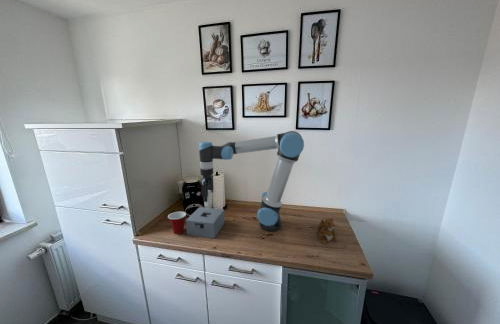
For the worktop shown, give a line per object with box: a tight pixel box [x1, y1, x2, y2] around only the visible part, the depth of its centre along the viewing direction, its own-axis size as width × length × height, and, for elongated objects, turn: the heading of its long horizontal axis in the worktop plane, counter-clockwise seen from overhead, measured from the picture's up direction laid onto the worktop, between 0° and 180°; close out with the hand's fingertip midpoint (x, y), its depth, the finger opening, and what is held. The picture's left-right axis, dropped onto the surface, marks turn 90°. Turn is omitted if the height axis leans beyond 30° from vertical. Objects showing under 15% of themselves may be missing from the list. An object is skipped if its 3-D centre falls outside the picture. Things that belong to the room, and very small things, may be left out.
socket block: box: [185, 206, 226, 239], centre depth 129 cm, size 18×18×10 cm
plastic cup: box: [167, 211, 187, 235], centre depth 126 cm, size 11×11×12 cm
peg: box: [204, 190, 213, 209], centre depth 123 cm, size 4×4×11 cm
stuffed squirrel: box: [316, 217, 338, 245], centre depth 119 cm, size 10×14×13 cm
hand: (208, 204), depth 124 cm, fingers closed on peg, 4 cm apart
